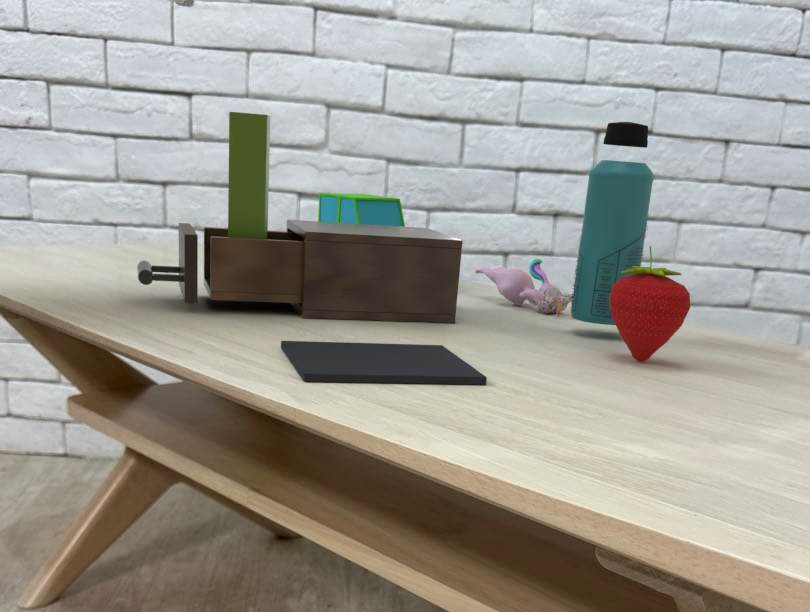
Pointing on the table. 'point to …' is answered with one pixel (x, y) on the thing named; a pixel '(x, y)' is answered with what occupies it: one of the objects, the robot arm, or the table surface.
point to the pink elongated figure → (527, 287)
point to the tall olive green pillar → (248, 175)
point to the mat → (379, 363)
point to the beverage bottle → (611, 225)
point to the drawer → (235, 266)
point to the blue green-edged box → (360, 209)
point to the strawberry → (648, 308)
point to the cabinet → (378, 272)
